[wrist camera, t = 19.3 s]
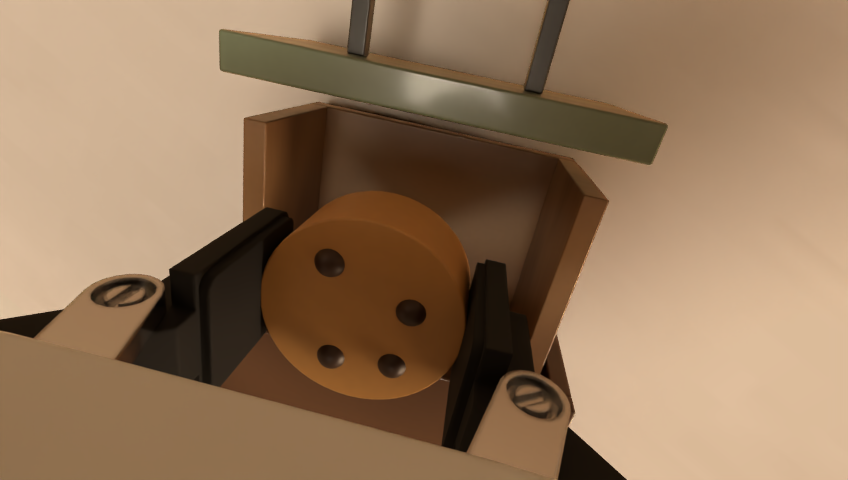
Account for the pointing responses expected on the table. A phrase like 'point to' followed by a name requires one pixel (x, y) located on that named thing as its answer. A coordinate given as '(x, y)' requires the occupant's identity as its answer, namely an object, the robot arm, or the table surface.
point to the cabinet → (403, 416)
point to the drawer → (441, 153)
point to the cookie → (369, 296)
